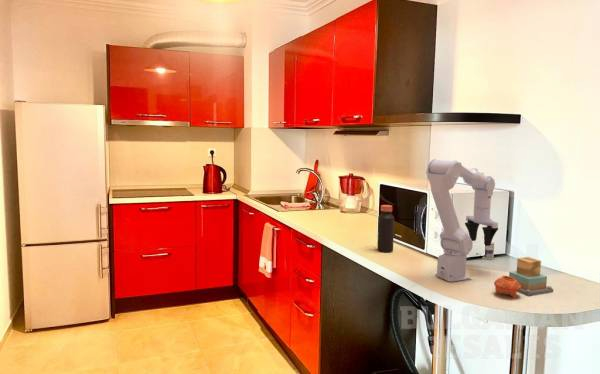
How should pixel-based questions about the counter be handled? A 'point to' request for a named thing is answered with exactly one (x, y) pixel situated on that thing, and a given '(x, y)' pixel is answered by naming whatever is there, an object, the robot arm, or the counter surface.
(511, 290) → the orange rounded lump
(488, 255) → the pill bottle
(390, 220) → the black water bottle
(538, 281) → the teal block with base
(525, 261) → the ochre brick
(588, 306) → the counter surface
